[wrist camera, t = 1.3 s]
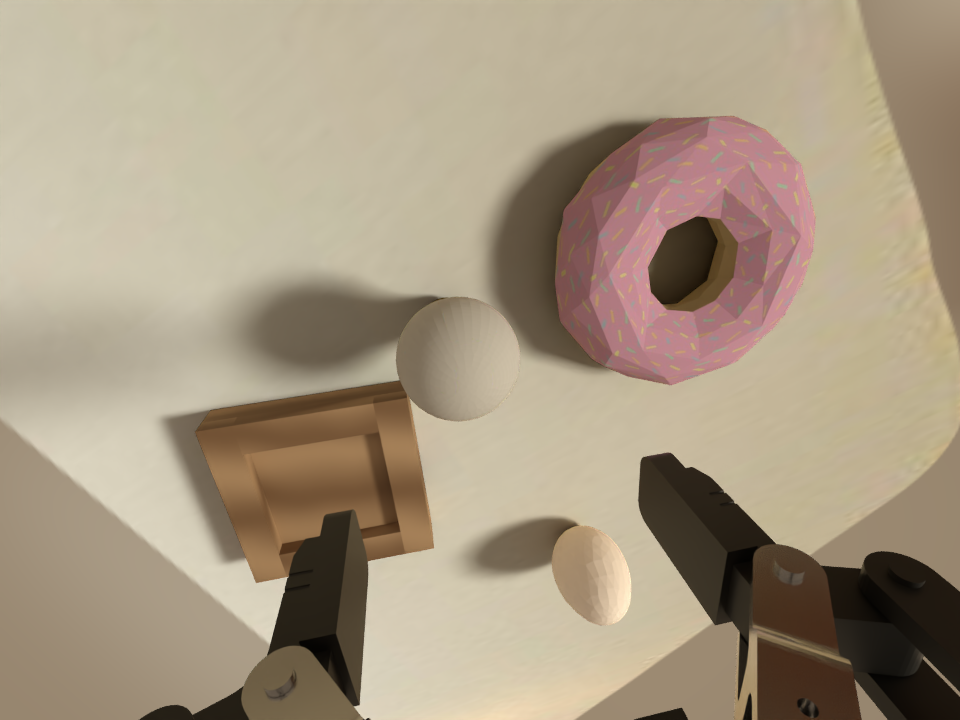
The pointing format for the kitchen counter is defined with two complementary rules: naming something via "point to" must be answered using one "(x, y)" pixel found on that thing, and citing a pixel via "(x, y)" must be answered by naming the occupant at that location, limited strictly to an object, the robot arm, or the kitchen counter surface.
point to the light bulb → (458, 358)
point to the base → (319, 472)
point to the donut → (663, 205)
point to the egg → (592, 574)
